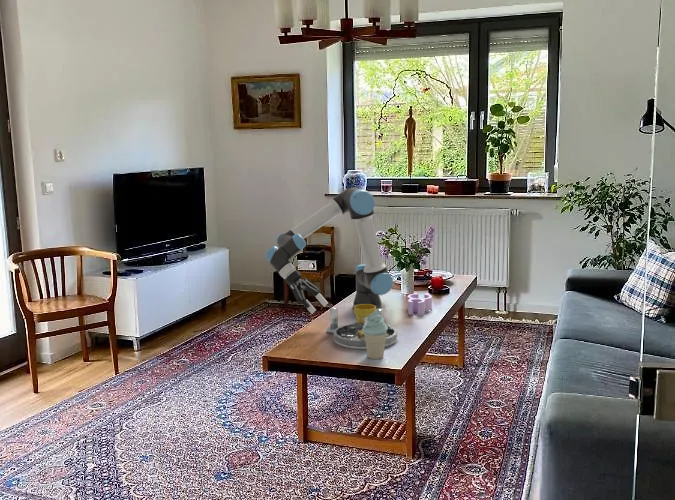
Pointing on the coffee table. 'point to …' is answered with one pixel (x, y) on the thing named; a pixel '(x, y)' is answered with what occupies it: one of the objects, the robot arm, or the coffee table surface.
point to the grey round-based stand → (333, 320)
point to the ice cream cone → (375, 335)
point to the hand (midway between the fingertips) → (320, 308)
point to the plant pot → (363, 311)
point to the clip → (419, 303)
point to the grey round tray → (360, 335)
